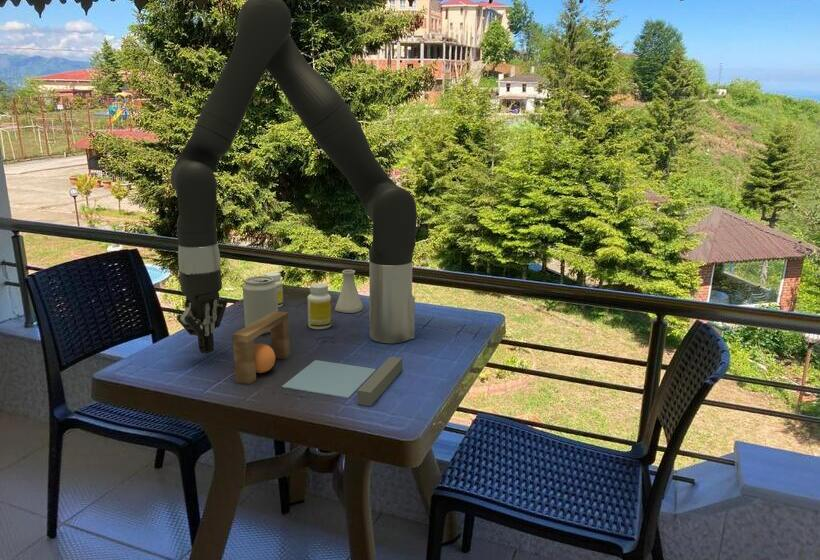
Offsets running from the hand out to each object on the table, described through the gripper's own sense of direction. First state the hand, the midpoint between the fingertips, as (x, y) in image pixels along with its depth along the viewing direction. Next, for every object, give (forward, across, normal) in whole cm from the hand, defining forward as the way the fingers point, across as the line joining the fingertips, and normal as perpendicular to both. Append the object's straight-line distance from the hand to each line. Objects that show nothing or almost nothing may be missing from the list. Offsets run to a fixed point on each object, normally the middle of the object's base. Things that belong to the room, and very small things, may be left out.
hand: (206, 352), depth 120 cm
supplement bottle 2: (+2, -26, +12) cm, 28 cm away
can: (+2, -19, +1) cm, 19 cm away
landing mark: (+2, 0, +27) cm, 27 cm away
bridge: (+2, 0, +13) cm, 13 cm away
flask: (+2, -40, +13) cm, 42 cm away
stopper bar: (+2, 0, +37) cm, 37 cm away
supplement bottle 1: (+2, -36, -6) cm, 37 cm away
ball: (-1, +2, +13) cm, 13 cm away
